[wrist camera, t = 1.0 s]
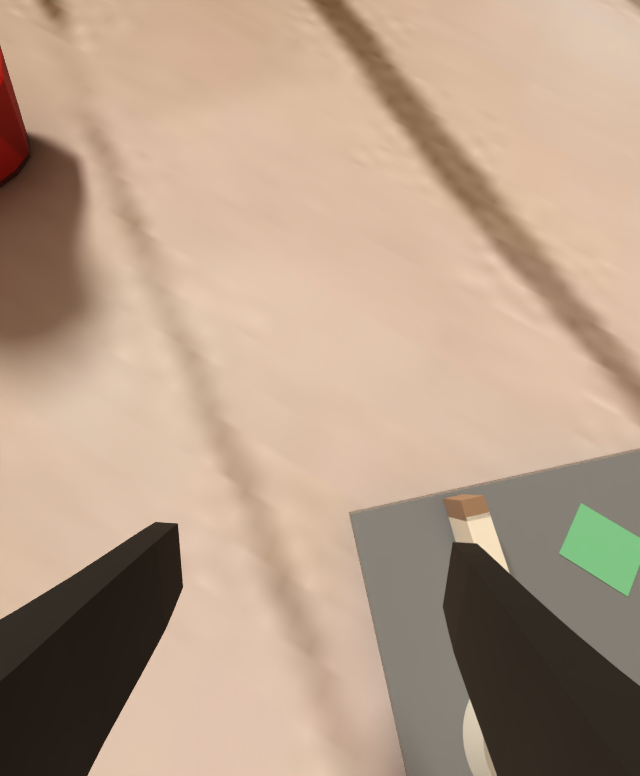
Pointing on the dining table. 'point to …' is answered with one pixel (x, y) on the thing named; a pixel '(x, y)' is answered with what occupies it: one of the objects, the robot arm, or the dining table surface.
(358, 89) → the dining table surface
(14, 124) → the bottle
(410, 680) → the dial board
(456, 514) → the brown-capped cream post
